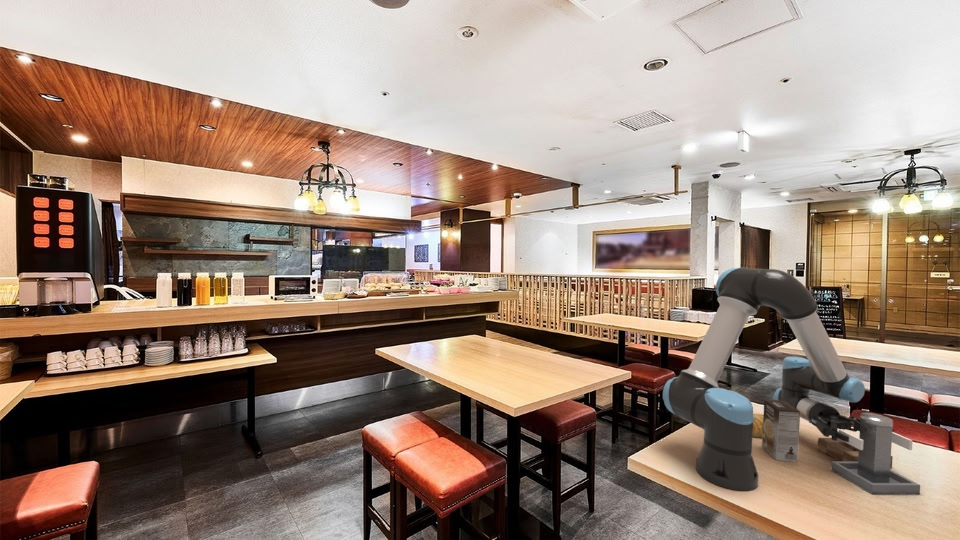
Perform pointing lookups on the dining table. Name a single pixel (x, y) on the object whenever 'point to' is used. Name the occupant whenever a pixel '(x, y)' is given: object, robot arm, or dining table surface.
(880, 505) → the dining table surface
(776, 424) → the coffee box
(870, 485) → the tray
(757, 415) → the croissant
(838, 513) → the dining table surface
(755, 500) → the dining table surface
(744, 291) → the robot arm
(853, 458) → the block
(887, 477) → the pin
